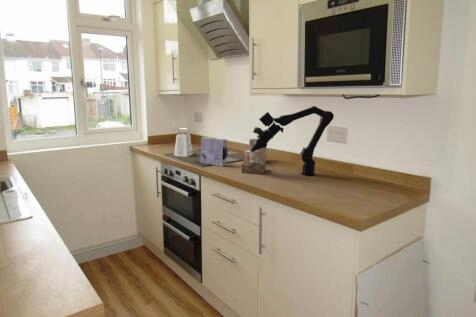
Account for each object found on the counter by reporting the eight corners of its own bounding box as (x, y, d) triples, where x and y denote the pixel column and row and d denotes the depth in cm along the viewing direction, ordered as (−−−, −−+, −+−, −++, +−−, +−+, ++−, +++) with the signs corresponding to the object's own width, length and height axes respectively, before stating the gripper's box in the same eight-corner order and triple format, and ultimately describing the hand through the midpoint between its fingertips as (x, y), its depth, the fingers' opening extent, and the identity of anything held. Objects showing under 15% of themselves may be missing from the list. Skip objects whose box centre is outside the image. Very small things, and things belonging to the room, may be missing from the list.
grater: (186, 156, 256) (186, 129, 252) (174, 155, 259) (173, 128, 256) (192, 154, 266) (192, 128, 262) (180, 153, 269) (180, 127, 265)
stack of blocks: (252, 166, 227) (252, 147, 225) (243, 165, 230) (244, 146, 228) (266, 160, 245) (266, 143, 243) (258, 159, 248) (258, 142, 246)
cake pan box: (228, 165, 227) (228, 138, 223) (223, 167, 223) (223, 139, 219) (204, 162, 237) (204, 136, 234) (200, 163, 233) (200, 137, 230)
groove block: (265, 169, 217) (266, 161, 216) (263, 174, 205) (263, 165, 204) (245, 168, 219) (245, 160, 218) (241, 172, 208) (241, 164, 207)
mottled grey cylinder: (258, 161, 208) (258, 138, 205) (258, 163, 204) (258, 139, 201) (250, 161, 208) (249, 138, 205) (249, 163, 205) (249, 139, 202)
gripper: (261, 121, 211) (242, 138, 213) (261, 123, 192) (241, 143, 195) (273, 134, 212) (255, 151, 214) (275, 138, 193) (255, 157, 196)
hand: (251, 150), depth 205 cm, fingers closed on mottled grey cylinder, 4 cm apart
